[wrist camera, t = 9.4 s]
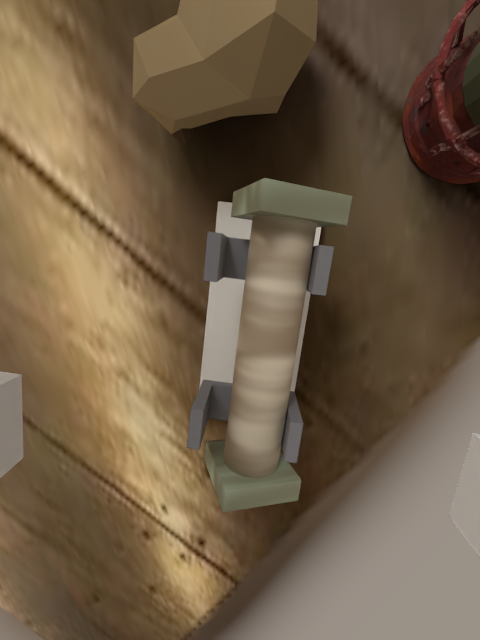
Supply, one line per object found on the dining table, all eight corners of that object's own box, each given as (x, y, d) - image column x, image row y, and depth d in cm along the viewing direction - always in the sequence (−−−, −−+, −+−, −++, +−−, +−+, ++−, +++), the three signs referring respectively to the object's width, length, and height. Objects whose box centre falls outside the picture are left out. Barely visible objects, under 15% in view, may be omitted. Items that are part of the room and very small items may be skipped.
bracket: (219, 203, 29) (197, 171, 18) (320, 215, 29) (360, 190, 18) (198, 409, 33) (169, 487, 22) (287, 421, 33) (302, 506, 22)
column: (233, 192, 22) (265, 177, 17) (304, 205, 23) (352, 196, 18) (204, 459, 26) (222, 512, 21) (267, 453, 27) (297, 500, 22)
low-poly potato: (302, -41, 25) (153, -149, 20) (401, -102, 17) (190, -312, 12) (241, 162, 32) (118, 119, 27) (290, 188, 24) (126, 135, 19)
